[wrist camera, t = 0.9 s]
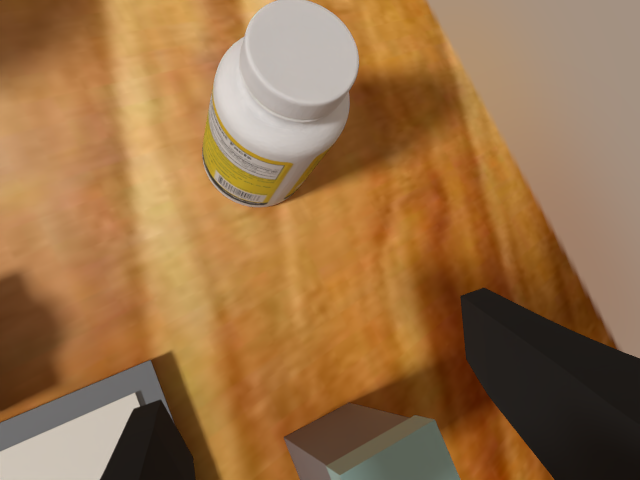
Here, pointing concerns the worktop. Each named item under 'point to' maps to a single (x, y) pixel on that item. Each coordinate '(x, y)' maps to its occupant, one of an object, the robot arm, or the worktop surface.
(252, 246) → the worktop surface
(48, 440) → the sketch board
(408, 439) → the block
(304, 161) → the supplement bottle
